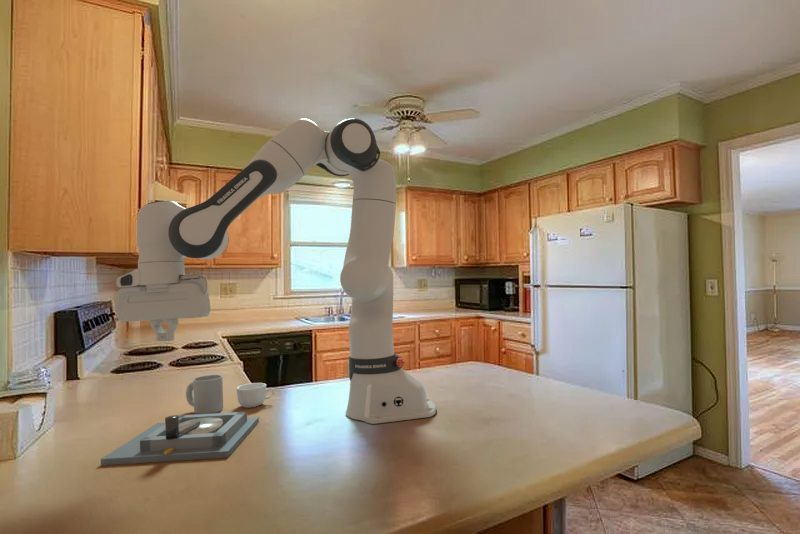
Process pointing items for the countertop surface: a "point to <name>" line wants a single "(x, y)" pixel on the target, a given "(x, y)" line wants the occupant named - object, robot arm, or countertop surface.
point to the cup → (206, 394)
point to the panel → (175, 455)
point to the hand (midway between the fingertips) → (165, 340)
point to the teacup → (252, 394)
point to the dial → (190, 426)
